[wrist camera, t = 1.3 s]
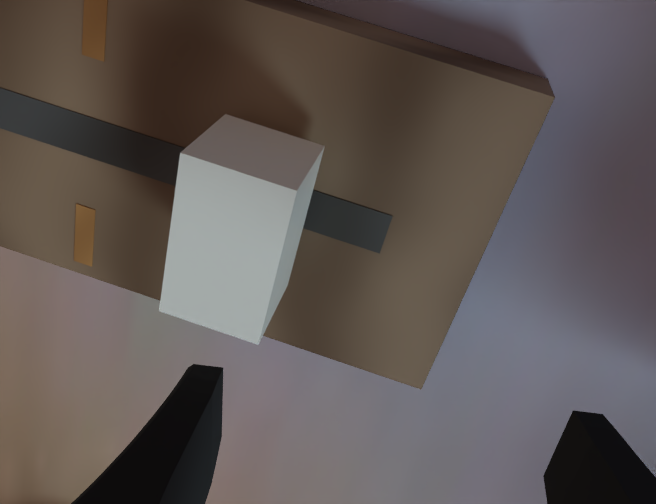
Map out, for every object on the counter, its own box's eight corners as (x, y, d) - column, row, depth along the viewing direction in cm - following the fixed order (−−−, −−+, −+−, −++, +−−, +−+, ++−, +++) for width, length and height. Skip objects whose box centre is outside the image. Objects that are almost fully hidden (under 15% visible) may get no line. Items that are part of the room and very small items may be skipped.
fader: (327, 141, 18) (296, 190, 15) (291, 278, 21) (258, 344, 18) (230, 109, 18) (180, 152, 15) (206, 250, 21) (158, 311, 18)
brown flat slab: (547, 79, 18) (555, 97, 16) (425, 354, 24) (420, 390, 22) (-80, -117, 19) (-135, -118, 17) (-53, 193, 25) (-93, 215, 23)
